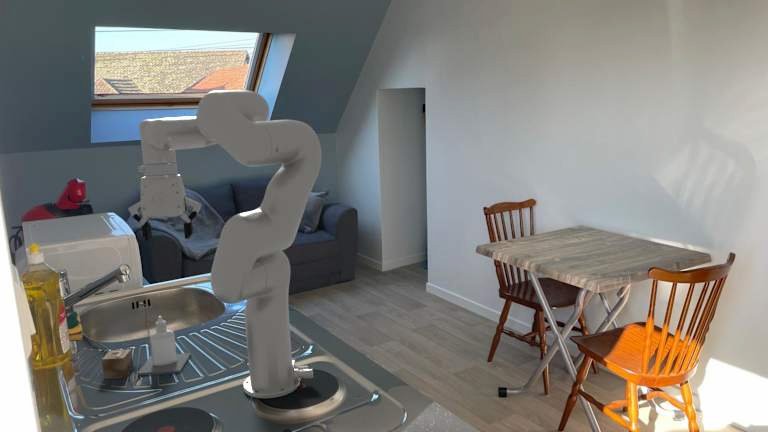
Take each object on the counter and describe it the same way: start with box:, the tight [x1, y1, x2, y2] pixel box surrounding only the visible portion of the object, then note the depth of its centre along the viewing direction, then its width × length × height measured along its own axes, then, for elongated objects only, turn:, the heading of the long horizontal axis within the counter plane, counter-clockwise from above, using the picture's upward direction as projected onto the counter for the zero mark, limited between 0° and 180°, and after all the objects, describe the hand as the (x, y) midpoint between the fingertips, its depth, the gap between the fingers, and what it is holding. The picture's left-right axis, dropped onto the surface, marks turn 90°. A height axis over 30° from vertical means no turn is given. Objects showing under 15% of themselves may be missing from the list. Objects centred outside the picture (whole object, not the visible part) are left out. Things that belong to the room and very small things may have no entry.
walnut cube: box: [101, 349, 134, 380], centre depth 140 cm, size 5×5×5 cm
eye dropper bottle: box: [149, 315, 178, 366], centre depth 143 cm, size 4×6×12 cm
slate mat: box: [136, 352, 192, 376], centre depth 144 cm, size 10×10×1 cm
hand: (168, 238), depth 145 cm, fingers open, 9 cm apart
